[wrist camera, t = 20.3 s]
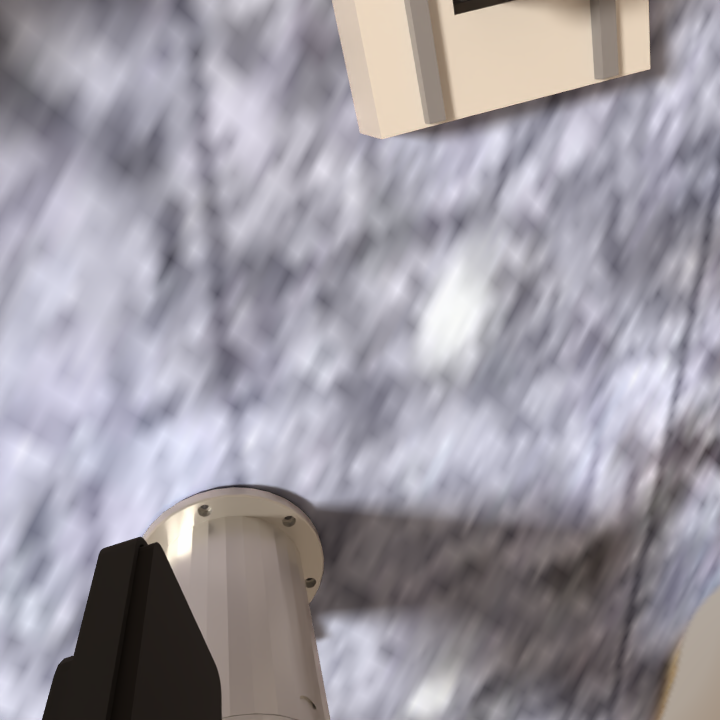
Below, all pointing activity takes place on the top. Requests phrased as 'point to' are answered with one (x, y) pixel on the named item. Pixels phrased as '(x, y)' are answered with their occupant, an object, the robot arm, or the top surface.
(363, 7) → the socket
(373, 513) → the top surface
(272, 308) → the top surface
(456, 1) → the plug
